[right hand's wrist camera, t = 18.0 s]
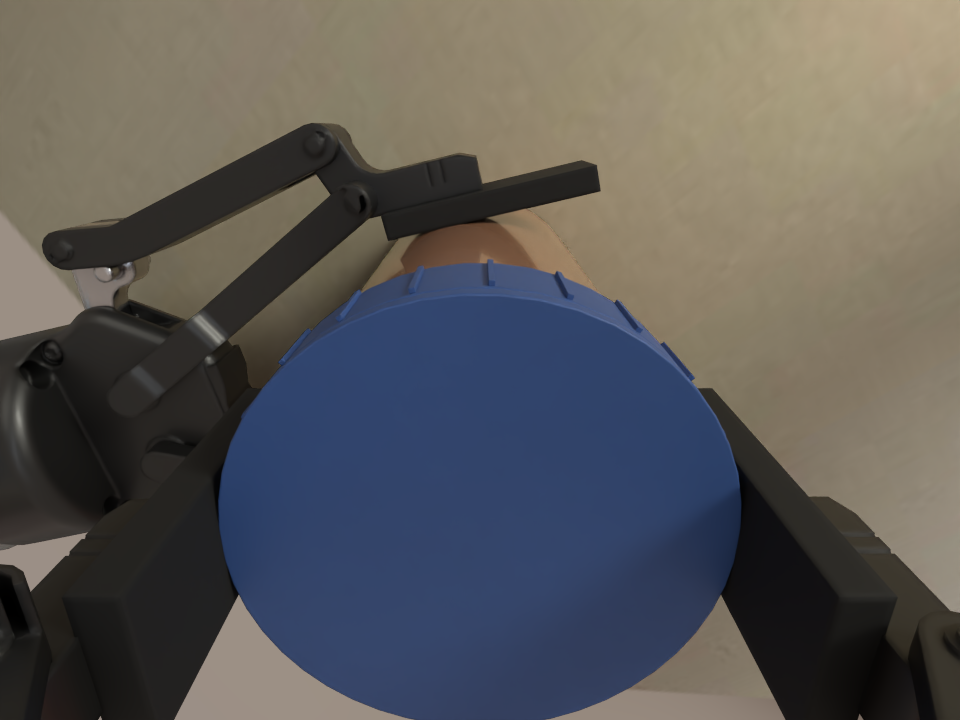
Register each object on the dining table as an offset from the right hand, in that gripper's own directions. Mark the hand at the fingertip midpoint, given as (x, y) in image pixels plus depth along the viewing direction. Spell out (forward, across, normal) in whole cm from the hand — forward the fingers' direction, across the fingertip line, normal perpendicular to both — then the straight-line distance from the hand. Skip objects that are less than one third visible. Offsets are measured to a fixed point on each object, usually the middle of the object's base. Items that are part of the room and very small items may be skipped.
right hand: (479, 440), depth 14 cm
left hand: (+7, -4, -1) cm, 8 cm away
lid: (-3, 0, 0) cm, 3 cm away
